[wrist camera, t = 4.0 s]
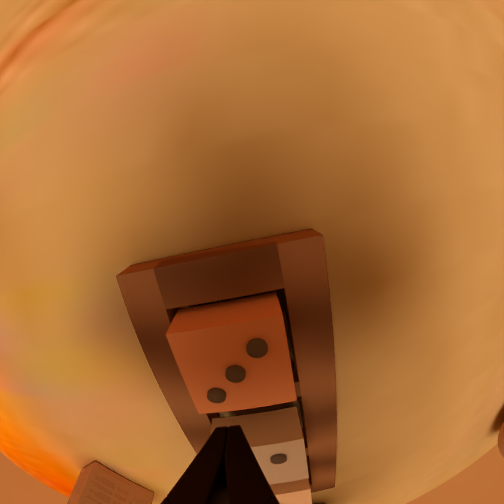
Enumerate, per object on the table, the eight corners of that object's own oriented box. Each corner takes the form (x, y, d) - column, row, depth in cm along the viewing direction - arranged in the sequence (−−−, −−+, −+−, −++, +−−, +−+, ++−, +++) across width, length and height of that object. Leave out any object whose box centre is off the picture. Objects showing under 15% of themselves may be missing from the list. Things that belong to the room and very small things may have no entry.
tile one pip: (308, 487, 17) (313, 510, 14) (251, 495, 17) (252, 519, 14) (304, 462, 16) (310, 490, 13) (238, 472, 16) (238, 500, 13)
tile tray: (330, 472, 20) (334, 487, 18) (231, 487, 20) (231, 502, 18) (311, 228, 14) (322, 235, 12) (130, 265, 14) (116, 276, 12)
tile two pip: (302, 449, 15) (309, 480, 12) (232, 459, 15) (231, 490, 12) (296, 406, 14) (304, 441, 11) (212, 418, 14) (208, 453, 11)
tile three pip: (289, 370, 15) (297, 403, 12) (204, 383, 15) (198, 416, 12) (275, 291, 13) (283, 317, 11) (178, 309, 14) (164, 336, 11)
